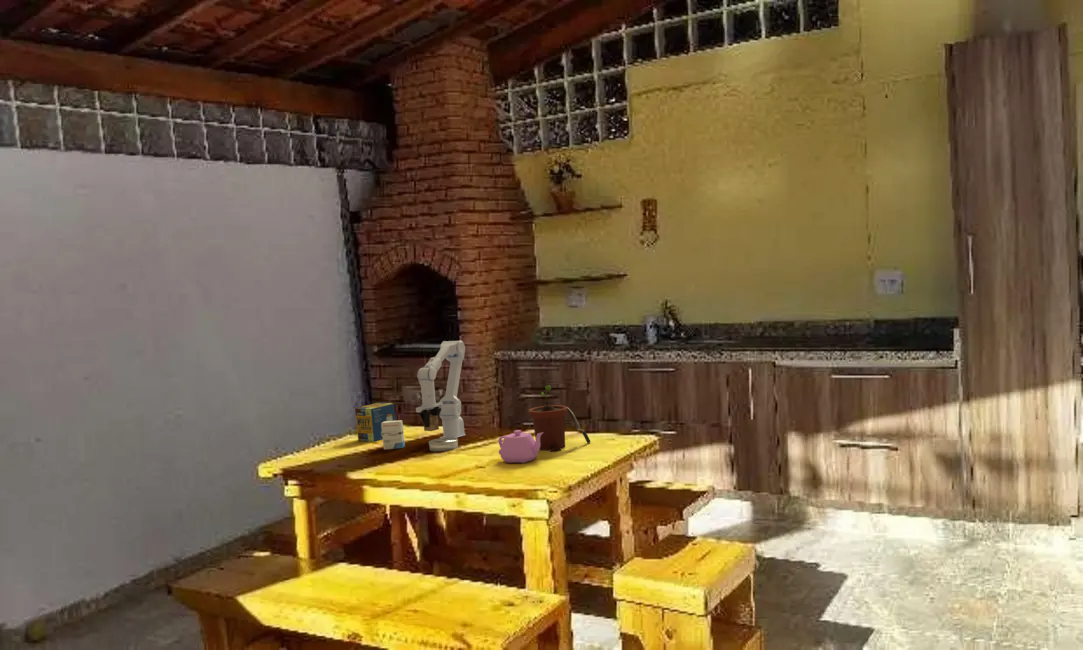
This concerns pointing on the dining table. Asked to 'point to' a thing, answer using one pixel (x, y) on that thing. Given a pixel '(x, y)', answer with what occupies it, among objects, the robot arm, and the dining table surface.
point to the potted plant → (552, 425)
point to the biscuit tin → (443, 444)
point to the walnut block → (432, 423)
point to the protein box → (373, 420)
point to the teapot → (519, 447)
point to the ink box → (393, 434)
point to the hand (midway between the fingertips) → (431, 425)
